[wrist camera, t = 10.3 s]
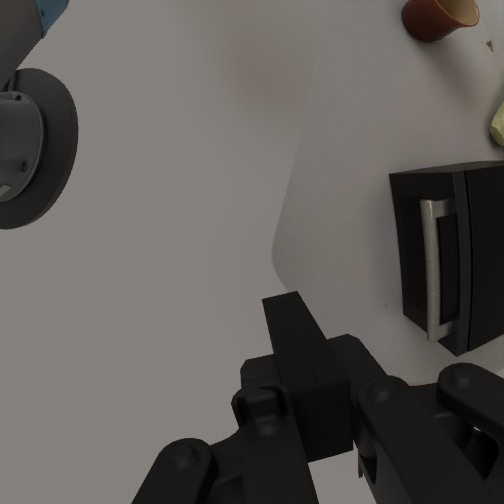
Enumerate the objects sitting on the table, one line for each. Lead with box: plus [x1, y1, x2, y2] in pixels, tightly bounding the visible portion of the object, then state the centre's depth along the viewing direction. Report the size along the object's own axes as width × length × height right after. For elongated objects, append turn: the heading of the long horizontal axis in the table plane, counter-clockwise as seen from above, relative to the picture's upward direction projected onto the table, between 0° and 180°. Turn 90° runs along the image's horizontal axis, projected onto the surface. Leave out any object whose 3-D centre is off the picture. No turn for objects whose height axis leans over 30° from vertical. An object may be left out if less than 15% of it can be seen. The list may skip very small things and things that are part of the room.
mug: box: [402, 0, 479, 42], centre depth 29 cm, size 12×9×10 cm
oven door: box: [389, 171, 471, 357], centre depth 34 cm, size 5×20×14 cm, turn 12°
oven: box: [404, 160, 504, 352], centre depth 34 cm, size 16×20×14 cm
